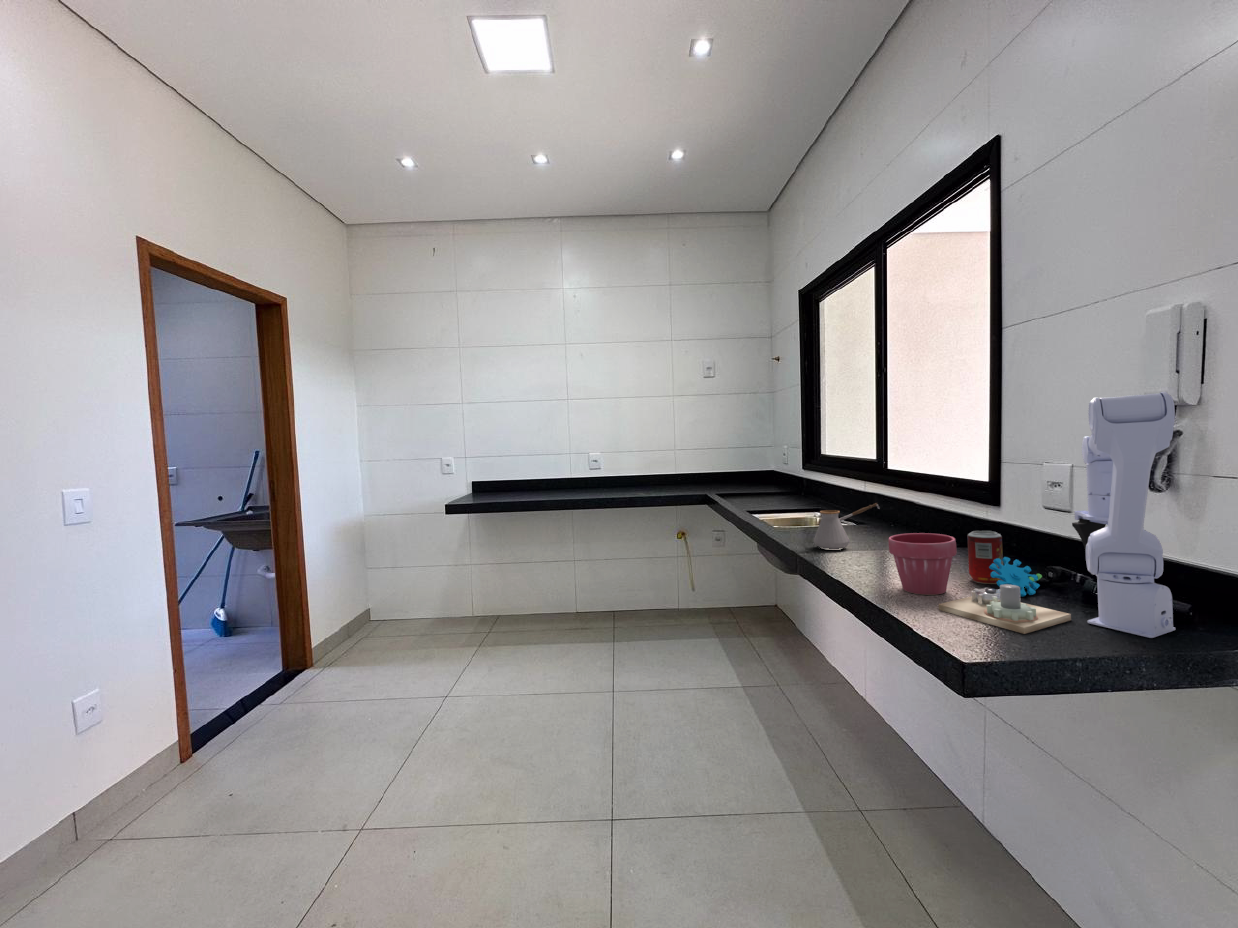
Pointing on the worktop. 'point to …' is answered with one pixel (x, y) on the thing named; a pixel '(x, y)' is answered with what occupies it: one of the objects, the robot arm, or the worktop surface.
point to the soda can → (983, 555)
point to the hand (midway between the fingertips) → (1108, 559)
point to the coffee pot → (834, 529)
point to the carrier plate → (979, 613)
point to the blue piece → (1015, 575)
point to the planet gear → (1011, 605)
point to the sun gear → (985, 595)
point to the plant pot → (923, 561)
